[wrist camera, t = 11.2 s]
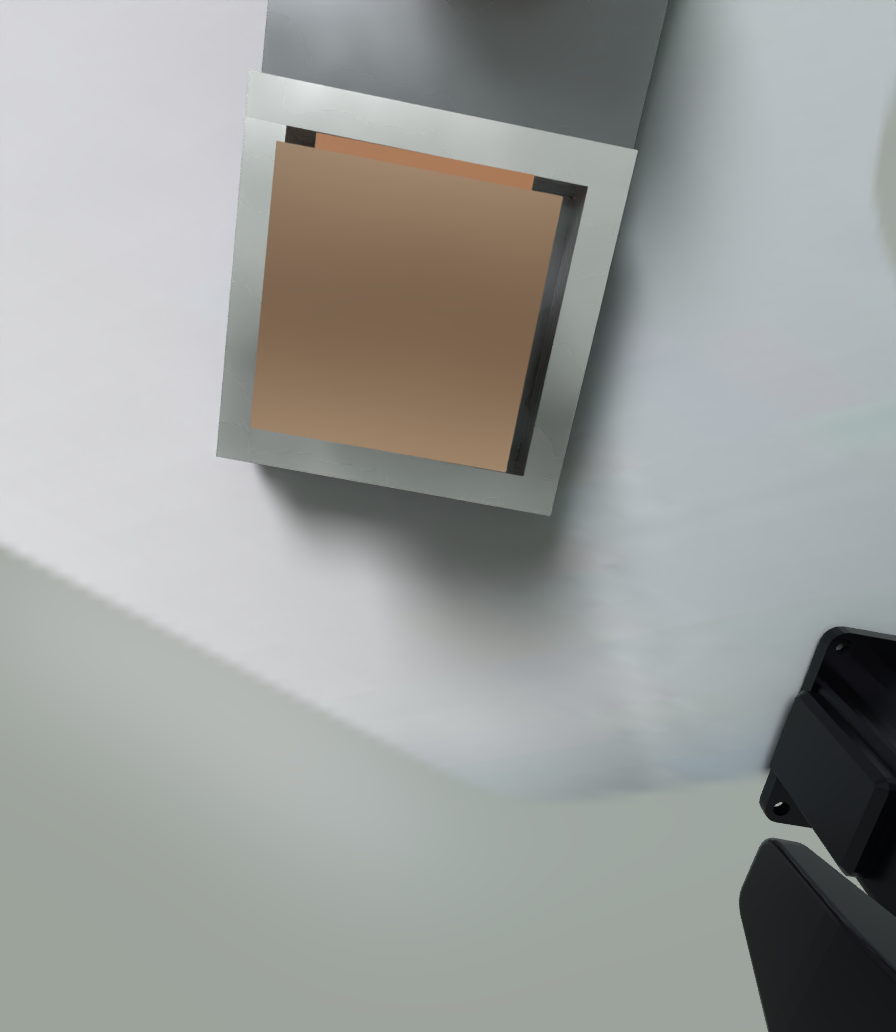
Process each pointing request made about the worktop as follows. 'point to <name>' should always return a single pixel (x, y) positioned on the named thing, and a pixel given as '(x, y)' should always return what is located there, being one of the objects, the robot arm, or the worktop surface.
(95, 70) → the worktop surface
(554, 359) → the grey base plate
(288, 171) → the tan wooden block
